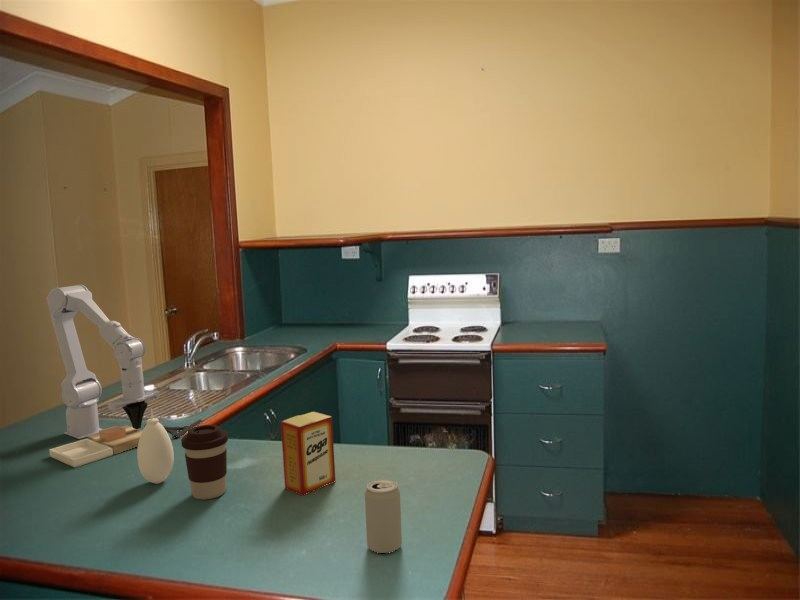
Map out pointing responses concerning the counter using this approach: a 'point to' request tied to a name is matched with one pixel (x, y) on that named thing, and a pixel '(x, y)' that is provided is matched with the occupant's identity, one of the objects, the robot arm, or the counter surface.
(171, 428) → the bracket
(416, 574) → the counter surface
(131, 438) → the large beige panel
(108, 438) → the tile
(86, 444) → the tray
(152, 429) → the rubber air blower
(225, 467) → the coffee cup
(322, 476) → the baking soda box
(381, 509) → the beverage can
